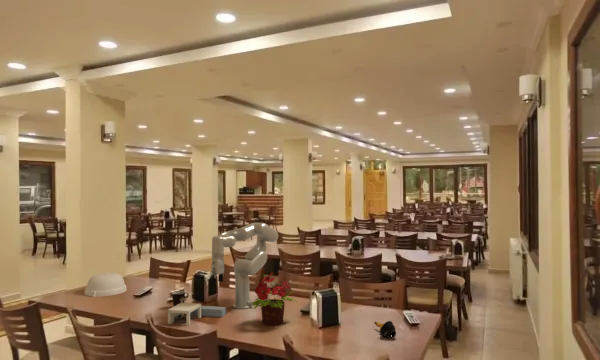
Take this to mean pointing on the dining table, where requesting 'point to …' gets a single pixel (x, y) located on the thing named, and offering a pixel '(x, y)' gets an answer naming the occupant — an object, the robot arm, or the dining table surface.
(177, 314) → the low shelf
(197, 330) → the dining table surface
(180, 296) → the coffee mug
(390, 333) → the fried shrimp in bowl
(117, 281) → the dome cover
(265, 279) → the potted plant
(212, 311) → the grey rectangular block
